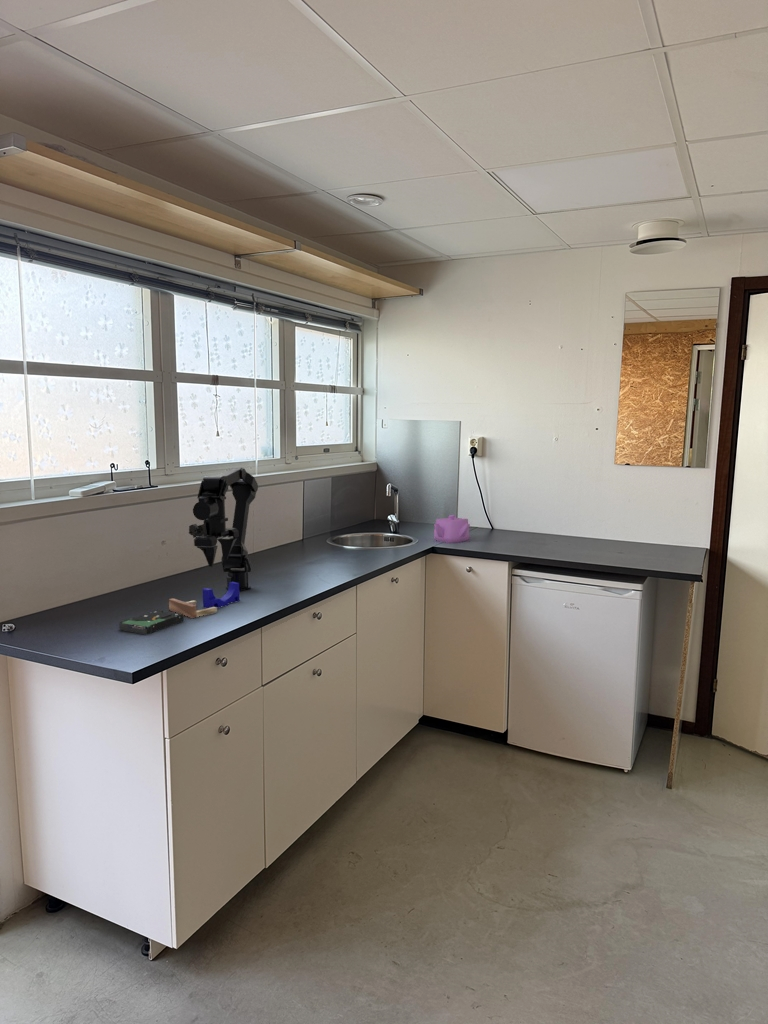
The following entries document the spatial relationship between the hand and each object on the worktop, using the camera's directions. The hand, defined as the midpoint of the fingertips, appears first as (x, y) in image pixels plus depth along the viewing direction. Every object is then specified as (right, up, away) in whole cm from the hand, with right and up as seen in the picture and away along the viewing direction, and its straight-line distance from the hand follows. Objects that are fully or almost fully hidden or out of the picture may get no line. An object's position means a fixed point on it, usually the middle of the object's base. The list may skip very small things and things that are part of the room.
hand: (218, 563), depth 224 cm
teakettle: (+86, +2, +111) cm, 140 cm away
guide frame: (-4, -14, -11) cm, 18 cm away
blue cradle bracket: (+2, -13, -3) cm, 14 cm away
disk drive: (-13, -16, -26) cm, 33 cm away
